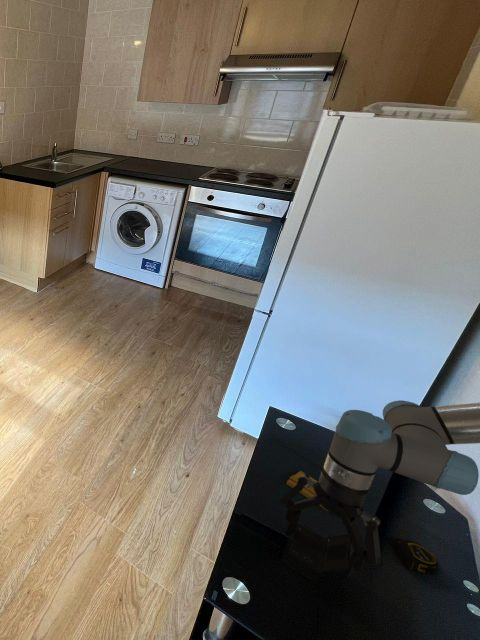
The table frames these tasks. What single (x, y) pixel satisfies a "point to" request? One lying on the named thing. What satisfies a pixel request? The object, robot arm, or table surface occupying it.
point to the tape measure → (415, 556)
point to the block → (306, 491)
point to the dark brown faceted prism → (320, 550)
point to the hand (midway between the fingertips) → (317, 552)
